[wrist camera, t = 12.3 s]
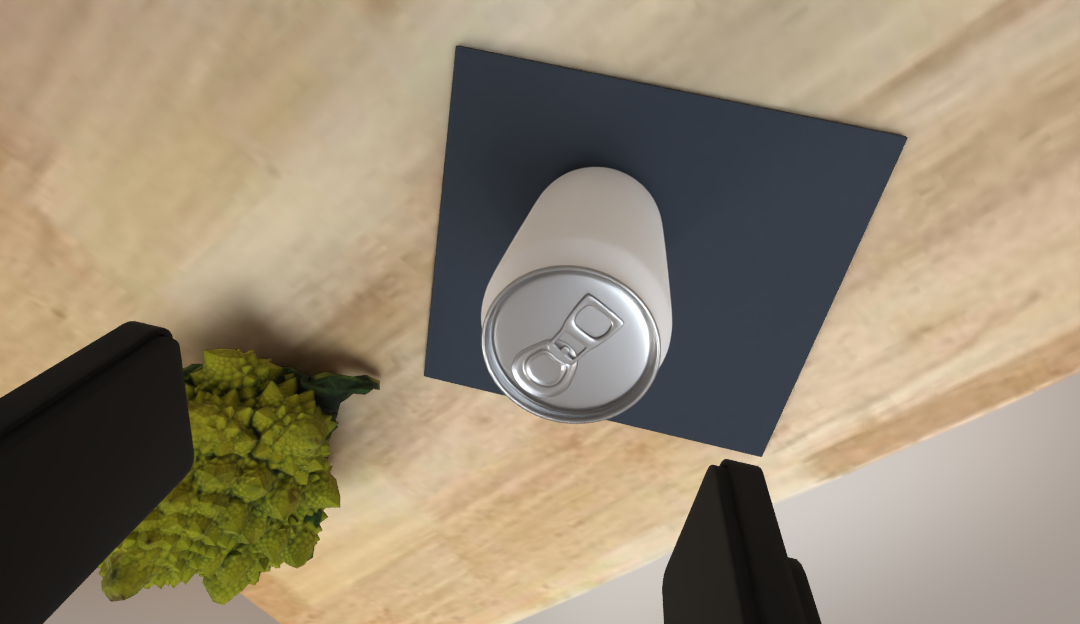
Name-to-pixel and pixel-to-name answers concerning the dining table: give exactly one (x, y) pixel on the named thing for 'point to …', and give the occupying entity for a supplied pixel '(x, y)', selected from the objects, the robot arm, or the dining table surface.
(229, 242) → the dining table surface
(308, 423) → the vegetable
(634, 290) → the can
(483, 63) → the mat
